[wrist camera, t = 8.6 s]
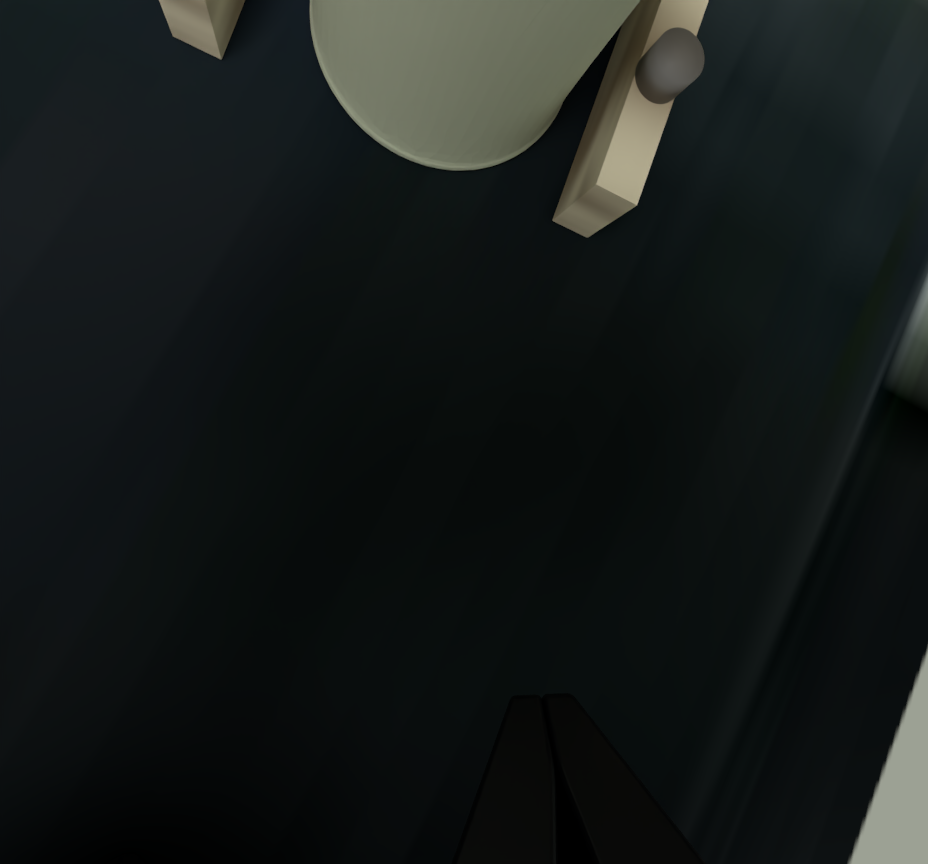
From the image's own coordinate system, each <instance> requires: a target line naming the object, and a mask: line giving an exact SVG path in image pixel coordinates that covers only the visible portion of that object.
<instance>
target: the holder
mask: <svg viewBox="0 0 928 864" xmlns="http://www.w3.org/2000/svg"><path fill="white" fill-rule="evenodd" d="M708 1H709V0H640V2H639V3H638V4H637V6H636V7H635V8H634V9H633V11H632V12H631V13H630V15H629V16H628V17H627V18H626V20H625V21H624V22H623V24H622V27H621V30H620V32H619V35H618V38H617V41H616V44H615V46H614V49H613V52H612V55H611V58H610V60H609V63H608V66H607V69H606V71H605V74H604V77H603V80H602V83H601V85H600V88H599V91H598V94H597V97H596V99H595V102H594V105H593V108H592V111H591V113H590V116H589V119H588V122H587V125H586V127H585V130H584V133H583V136H582V139H581V141H580V144H579V147H578V150H577V153H576V155H575V158H574V161H573V164H572V167H571V169H570V172H569V175H568V178H567V181H566V183H565V186H564V189H563V192H562V195H561V197H560V200H559V203H558V206H557V209H556V211H555V214H554V217H553V220H552V221H554V222H556V223H558V224H560V225H562V226H564V227H566V228H568V229H570V230H572V231H574V232H576V233H578V234H580V235H582V236H584V237H587V238H588V237H590V236H591V235H593V234H594V233H596V232H597V231H599V230H600V229H602V228H603V227H605V226H606V225H608V224H609V223H611V222H612V221H614V220H615V219H617V218H618V217H620V216H622V215H623V214H625V213H626V212H628V211H629V210H631V209H632V208H634V207H635V206H637V204H638V201H639V198H640V195H641V193H642V190H643V187H644V184H645V181H646V178H647V175H648V173H649V170H650V167H651V164H652V161H653V158H654V155H655V152H656V150H657V147H658V144H659V141H660V138H661V135H662V132H663V130H664V127H665V124H666V121H667V118H668V115H669V112H670V110H671V107H672V104H673V101H674V98H675V97H676V96H677V95H678V94H680V93H681V92H682V91H683V90H684V89H685V88H686V87H687V86H689V85H690V84H691V83H692V82H693V81H694V80H695V79H696V78H697V77H698V76H699V75H700V74H701V72H702V70H703V66H704V51H703V48H702V45H701V43H700V41H699V40H698V38H697V37H696V35H697V32H698V30H699V27H700V24H701V21H702V18H703V15H704V12H705V10H706V7H707V4H708ZM159 2H160V4H161V7H162V9H163V12H164V14H165V17H166V20H167V22H168V25H169V27H170V30H171V32H172V35H173V37H175V38H178V39H180V40H182V41H184V42H186V43H188V44H190V45H192V46H194V47H196V48H198V49H200V50H202V51H204V52H206V53H208V54H210V55H212V56H215V57H217V58H219V59H221V60H222V58H223V55H224V53H225V50H226V48H227V45H228V43H229V40H230V37H231V35H232V32H233V30H234V27H235V25H236V22H237V20H238V17H239V15H240V12H241V10H242V7H243V5H244V2H245V0H159Z"/></svg>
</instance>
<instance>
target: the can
mask: <svg viewBox="0 0 928 864" xmlns="http://www.w3.org/2000/svg"><path fill="white" fill-rule="evenodd" d="M639 2H640V0H310V26H311V34H312V39H313V44H314V48H315V52H316V55H317V58H318V61H319V64H320V67H321V69H322V72H323V74H324V76H325V78H326V80H327V82H328V84H329V86H330V88H331V90H332V92H333V93H334V95H335V96H336V98H337V100H338V101H339V103H340V104H341V105H342V107H343V108H344V109H345V111H346V112H347V113H348V115H349V116H350V117H351V118H352V119H353V120H354V121H355V122H356V123H357V124H358V125H359V126H360V127H361V129H362V130H364V131H365V132H366V133H367V134H368V135H370V136H371V137H372V138H373V139H374V140H375V141H377V142H378V143H380V144H381V145H382V146H384V147H386V148H387V149H389V150H390V151H392V152H394V153H396V154H397V155H399V156H401V157H403V158H406V159H408V160H410V161H413V162H416V163H419V164H421V165H424V166H428V167H433V168H438V169H444V170H453V171H461V170H477V169H482V168H487V167H491V166H494V165H497V164H500V163H503V162H505V161H507V160H510V159H512V158H514V157H515V156H517V155H519V154H520V153H522V152H524V151H525V150H526V149H527V148H529V147H530V146H531V145H532V144H534V143H535V142H536V141H537V140H538V139H539V138H540V137H541V136H542V135H543V134H544V132H545V131H546V130H547V129H548V128H549V126H550V125H551V123H552V122H553V120H554V119H555V117H556V116H557V114H558V112H559V110H560V108H561V106H562V104H563V101H564V100H565V98H566V97H567V95H568V94H569V93H570V91H571V90H572V89H573V87H574V86H575V85H576V83H577V82H578V81H579V79H580V78H581V77H582V75H583V74H584V73H585V71H586V70H587V69H588V67H589V66H590V65H591V63H592V62H593V61H594V59H595V58H596V57H597V56H598V54H599V53H600V52H601V51H602V49H603V48H604V47H605V45H606V44H607V43H608V42H609V40H610V39H611V38H612V36H613V35H614V34H615V33H616V31H617V30H618V29H619V27H620V26H621V25H622V24H623V22H624V21H625V20H626V18H627V17H628V16H629V15H630V13H631V12H632V11H633V9H634V8H635V7H636V6H637V4H638V3H639Z"/></svg>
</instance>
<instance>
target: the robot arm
mask: <svg viewBox="0 0 928 864" xmlns="http://www.w3.org/2000/svg"><path fill="white" fill-rule="evenodd" d="M106 864H145V863H144V861H143V859H142V858H141V857H140V856H139V855H136V854H133V853H126V854H123V855H120V856H118V857H117V858H115V859H113V860H111V861H109V862H108V863H106ZM452 864H706V863H705V862H704V861H703V859H702V858H701V857H700V855H699V854H698V853H697V852H696V850H695V849H694V848H693V847H692V845H691V844H690V843H689V842H688V840H687V839H686V838H685V836H684V835H683V834H682V833H681V831H680V830H679V829H678V828H677V826H676V825H675V824H674V823H673V821H672V820H671V819H670V817H669V816H668V815H667V814H666V812H665V811H664V810H663V809H662V807H661V806H660V805H659V804H658V802H657V801H656V800H655V798H654V797H653V796H652V795H651V793H650V792H649V791H648V790H647V788H646V787H645V786H644V785H643V783H642V782H641V781H640V779H639V778H638V777H637V776H636V774H635V773H634V772H633V771H632V769H631V768H630V767H629V766H628V764H627V763H626V762H625V760H624V759H623V758H622V757H621V755H620V754H619V753H618V752H617V750H616V749H615V748H614V747H613V745H612V744H611V743H610V741H609V740H608V739H607V738H606V736H605V735H604V734H603V733H602V731H601V730H600V729H599V728H598V726H597V725H596V724H595V722H594V721H593V720H592V719H591V717H590V716H589V715H588V714H587V712H586V711H585V710H584V709H583V707H582V706H581V705H580V703H579V702H578V701H577V700H576V698H575V697H574V696H573V695H571V694H568V693H564V694H546V695H544V696H543V698H542V699H541V697H540V696H538V695H517V696H513V697H512V698H511V699H510V701H509V704H508V707H507V709H506V712H505V715H504V718H503V721H502V724H501V726H500V729H499V732H498V735H497V738H496V740H495V743H494V746H493V749H492V752H491V754H490V757H489V760H488V763H487V766H486V768H485V771H484V774H483V777H482V780H481V783H480V785H479V788H478V791H477V794H476V797H475V799H474V802H473V805H472V808H471V811H470V813H469V816H468V819H467V822H466V825H465V827H464V830H463V833H462V836H461V839H460V842H459V844H458V847H457V850H456V853H455V856H454V858H453V861H452Z"/></svg>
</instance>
